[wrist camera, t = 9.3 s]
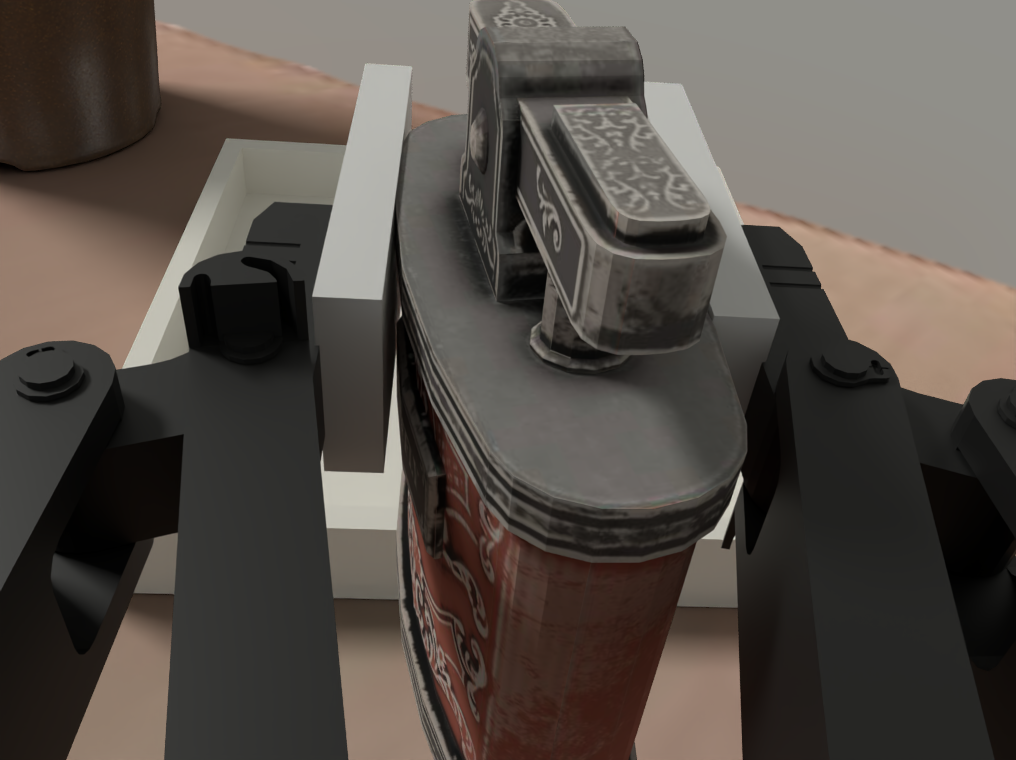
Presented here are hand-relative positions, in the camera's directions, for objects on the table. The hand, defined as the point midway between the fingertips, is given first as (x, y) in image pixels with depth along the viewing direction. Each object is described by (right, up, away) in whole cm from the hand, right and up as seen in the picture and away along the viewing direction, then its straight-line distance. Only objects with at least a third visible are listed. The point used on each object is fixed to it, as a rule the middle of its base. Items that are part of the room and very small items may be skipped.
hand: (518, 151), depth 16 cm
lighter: (0, -8, 0) cm, 8 cm away
